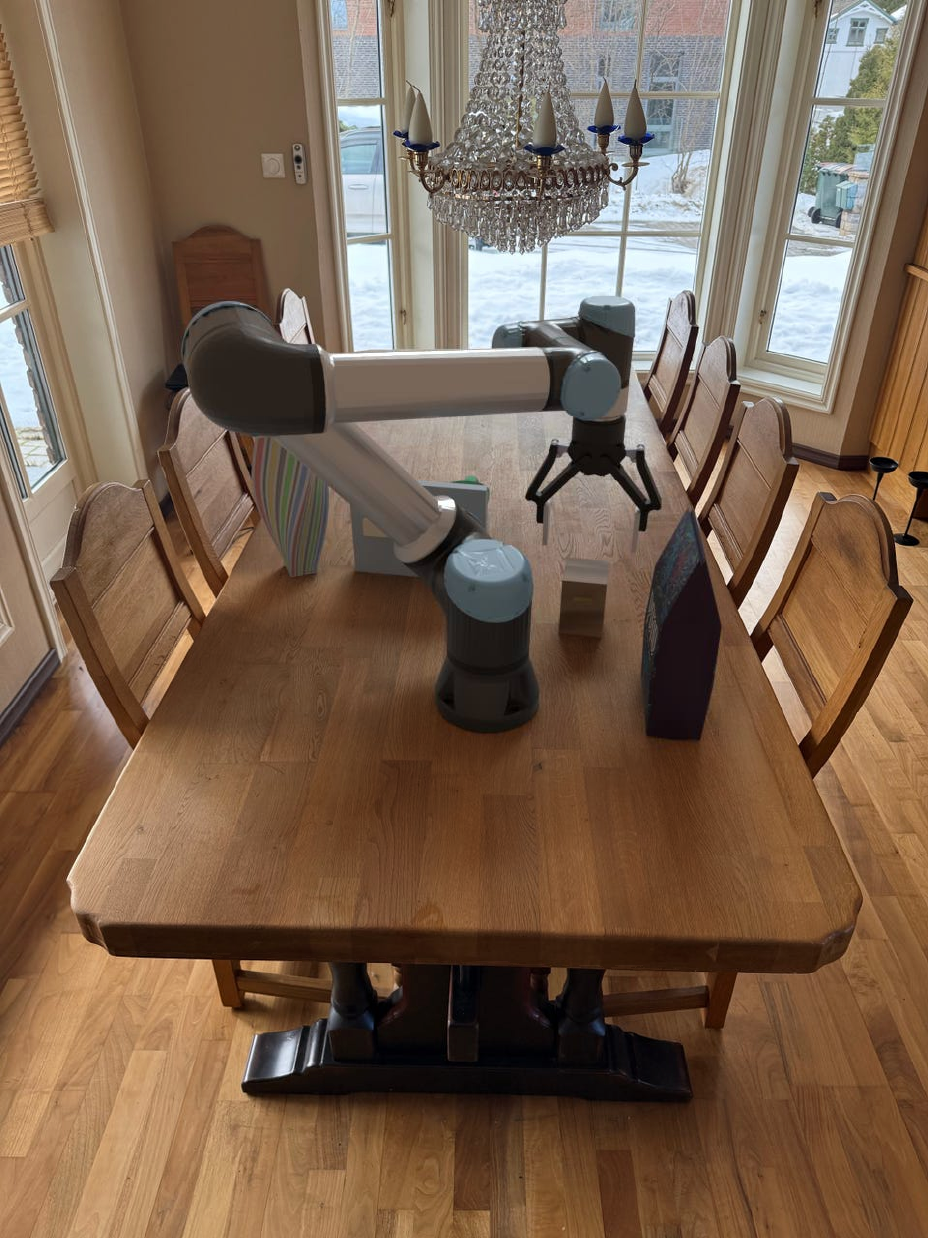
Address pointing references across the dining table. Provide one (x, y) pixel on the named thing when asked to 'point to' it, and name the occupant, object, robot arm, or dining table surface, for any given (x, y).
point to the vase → (290, 505)
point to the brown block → (583, 597)
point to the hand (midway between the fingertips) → (589, 545)
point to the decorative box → (680, 638)
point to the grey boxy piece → (379, 549)
